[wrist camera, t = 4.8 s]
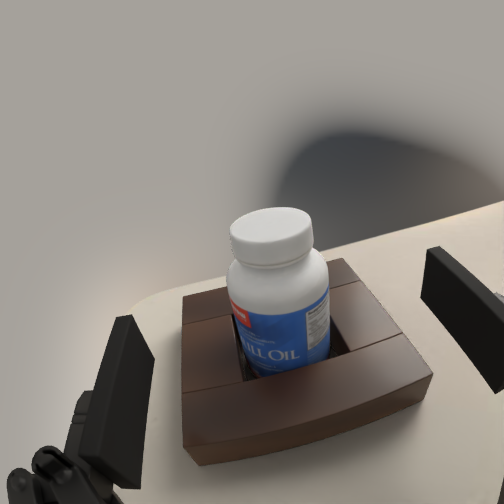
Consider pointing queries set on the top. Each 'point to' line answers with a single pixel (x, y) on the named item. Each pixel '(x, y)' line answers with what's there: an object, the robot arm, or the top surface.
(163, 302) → the top surface
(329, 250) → the top surface
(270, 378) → the socket base
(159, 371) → the top surface
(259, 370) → the pill bottle
